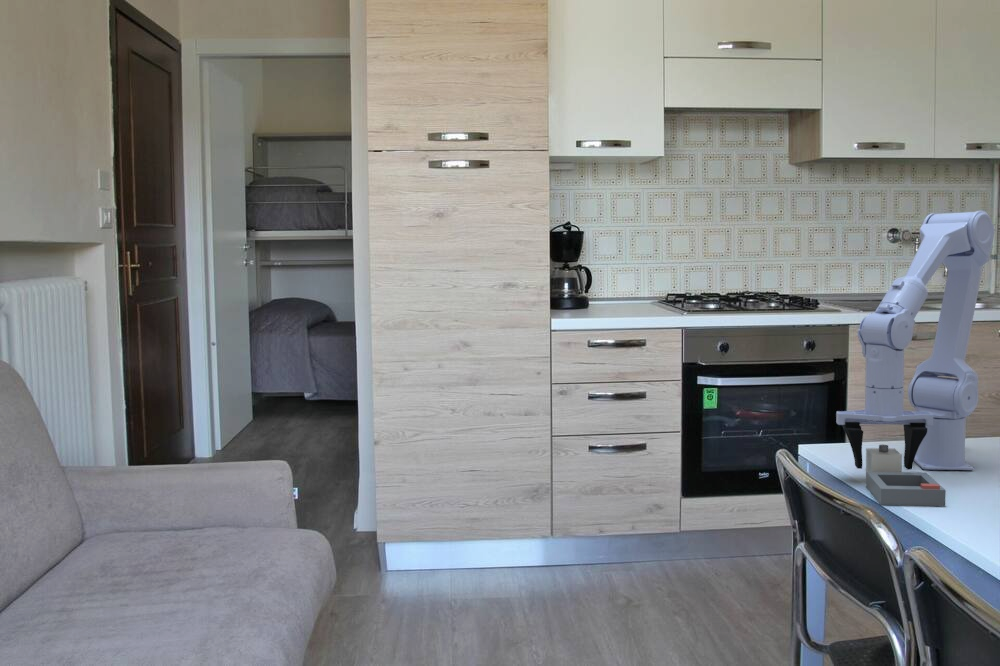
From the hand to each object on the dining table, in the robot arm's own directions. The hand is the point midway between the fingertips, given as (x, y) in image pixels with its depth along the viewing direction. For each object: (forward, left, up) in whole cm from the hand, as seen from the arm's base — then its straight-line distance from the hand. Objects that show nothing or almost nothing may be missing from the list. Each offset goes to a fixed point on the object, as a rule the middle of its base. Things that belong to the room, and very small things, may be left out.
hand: (883, 467), depth 144 cm
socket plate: (+9, +1, -2) cm, 9 cm away
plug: (0, 0, -2) cm, 2 cm away
